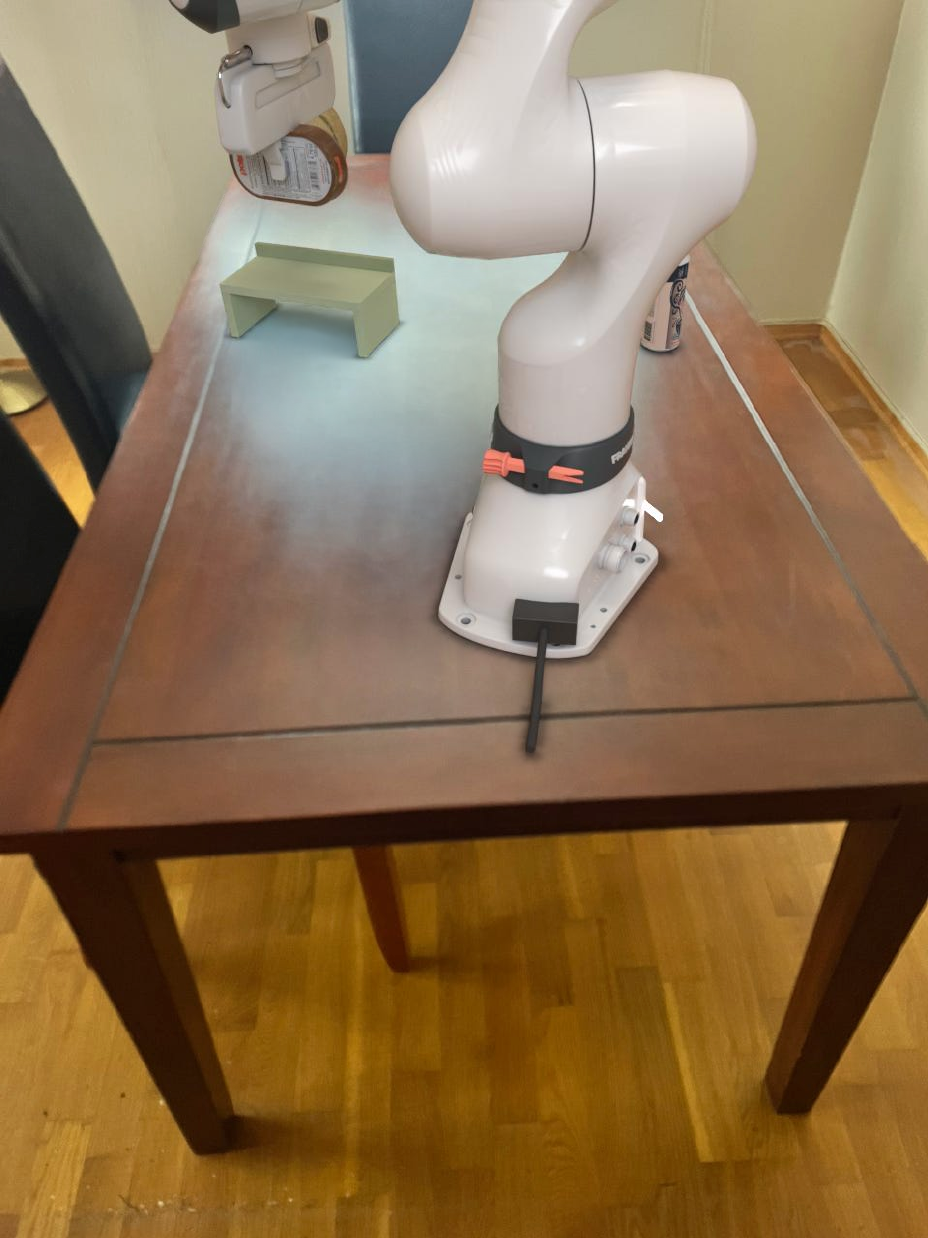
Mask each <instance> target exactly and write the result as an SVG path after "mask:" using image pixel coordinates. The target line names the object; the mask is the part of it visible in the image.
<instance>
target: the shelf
mask: <svg viewBox="0 0 928 1238" xmlns="http://www.w3.org/2000/svg"><path fill="white" fill-rule="evenodd" d="M254 249H255V253H256V256H254V257H253V258H252V259H251V260H249V261H248V262H247V263H245V264H244V265H243V266H241V267H240V268H239V269H237V270H235V272H233V273H232V274H231V275H229V276H227V278H225V279H224V280H222V281H220V282H219V288H220V292H221V297H222V302H223V307H224V311H225V315H226V320H227V324H228V327H229V328H228V329H229V333H230V337H232V338H237V339H238V338H241V337H242V336H243V335H245V333H246V332H248V331H249V330H250V329H251V328H252V327H254V326H255V325H256V324H257V323H258V322H260V321H261V320H263V318H265V317H266V316H267V315H269V313H271V312H272V311H274V309H276V308H277V307H278V306H277V305H278V304H277V301H280V302H285V303H293V304H299V305H306V306H312V307H313V306H314V307H321V308H328V309H335V310H342V311H350V312H352V317H353V325H354V331H355V340H356V349H357V355H358V357H360V358H364V359H365V358H366V359H367V358H368V357H369V356H370V355H371V354H372V353H373V352H374V351H375V350H377V348H378V347H379V346H380V345H381V344H382V342H383V341H385V339H387V338H388V336H389V335H391V333H393V331H394V330H395V329H396V328H397V327H398V326H399V325H400V315H399V303H398V302H399V301H398V294H397V283H396V271H395V258H394V257H387V256H379V255H370V254H362V253H354V252H346V251H339V250H331V249H330V250H329V249H321V248H315V247H314V248H312V247H305V246H296V245H287V244H280V243H271V242H263V241H256V242H255V243H254Z"/></svg>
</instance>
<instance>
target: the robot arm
mask: <svg viewBox="0 0 928 1238" xmlns="http://www.w3.org/2000/svg"><path fill="white" fill-rule="evenodd" d="M340 1H341V0H168V2H169V3H170V5H171V6H172V7H173V8H174V9H175V10H176V12H178V13H179V14H180V15H181V16H182V17H183V18H185V19H186V20H187V21H188V22H191V24H193V25H194V26H196V27H197V28H199V29H201V30H202V31H204V32H205V33H208V34H209V35H214V34H216V33H221V32H223V31H224V34H225V38H226V44H227V51H228V53H227V54H225V55H223V56H222V57H221V59H220V64H219V67H218V70H217V71H216V74H215V75H216V77H215V82H214V103H215V105H214V106H215V114H216V121H217V128H218V134H219V135H218V136H219V142H220V144H221V147H222V148H223V149H224V150H225V152H226V153H227V154H228V155H229V154H233V155H243V156H252V155H254V154H256V153H258V152H259V151H261V153H262V154H263V156H264V158H265V159H266V161H267V162H268V164H269V167H270V173H271V177H272V179H274V180H279V181H283V180H285V179H286V178H288V177H289V176H290V174H291V173H290V170H289V161H284V159H283V157H282V154H281V152H280V150H279V149H281V148H282V144H281V138H283V137H284V136H286V135H288V134H289V132H290V131H291V130H293V129H295V128H296V127H298V126H299V124H306V125H307V123H308V122H309V121H311V120H313V119H314V118H316V117H318V116H319V115H321V114H323V113H324V112H326V111H328V110H329V109H331V108H332V107H333V108H334V104H335V99H336V78H335V69H334V60H333V54H332V50H331V46H330V44H329V42H328V41H329V40H331V37H332V27H331V21H330V19H329V18H328V17H326V16H323V15H320V14H317V13H313V12H311V11H316V10H320V9H325V8H328V7H330V6H332V5H334V4H338V3H339V2H340ZM620 1H621V0H473V1H472V5H471V9H470V12H469V16H468V18H467V21H466V24H465V27H464V31H463V32H462V34H461V38H460V39H459V41H458V43H457V46H456V48H455V50H454V52H453V54H452V55H451V57H450V59H449V61H448V63H447V65H446V66H445V67H444V69H443V71H442V72H441V73H440V75H439V76H438V77H437V79H436V80H435V82H434V83H433V84H432V85H431V86H430V88H429V89H428V90H427V91H426V92H425V93H424V95H423V96H421V98H420V99H419V100H418V101H416V102H415V104H414V105H413V106H411V108H410V109H409V111H408V112H407V113H406V114H405V117H404V118H403V120H402V121H401V123H400V125H399V127H398V129H397V131H396V134H395V137H394V140H393V142H392V147H391V150H390V153H389V162H388V184H389V185H388V186H389V191H390V196H391V200H392V204H393V207H394V210H395V212H396V214H397V217H398V219H399V221H400V223H401V225H402V227H403V228H404V230H405V231H406V233H407V234H408V236H410V238H411V239H412V240H413V241H414V242H415V243H416V244H417V245H418V246H419V247H420V248H421V249H422V250H423V251H424V252H426V253H427V254H429V255H436V256H444V257H451V258H460V259H469V260H480V261H481V260H482V261H496V260H503V259H505V260H507V259H513V258H514V259H515V258H524V257H533V256H542V255H550V254H551V255H552V254H560V253H567V254H566V256H565V257H564V259H563V261H562V262H561V263H560V264H559V266H558V267H557V268H556V270H554V272H553V273H551V275H550V276H548V277H547V278H546V279H545V280H543V281H542V282H541V283H539V284H537V285H536V286H534V287H533V288H531V289H530V290H528V291H527V292H525V293H524V294H523V295H521V296H520V297H519V298H518V299H517V300H516V301H515V302H514V303H513V304H512V306H511V307H510V308H509V310H508V311H507V313H506V315H505V316H504V318H503V320H502V322H501V325H500V327H499V331H498V333H497V340H496V341H497V343H496V344H497V383H498V384H497V389H498V390H497V394H498V395H497V397H498V402H497V404H496V405H495V409H494V413H493V420H492V424H491V427H490V428H491V429H490V448H488V449H487V450H486V451H485V453H484V455H483V460H482V471H483V475H482V477H481V482H480V485H479V490H478V494H477V498H476V501H475V503H474V505H473V506H472V509H471V511H470V512H468V513H467V514H466V516H465V519H464V521H463V526H462V529H461V532H460V536H459V539H458V542H457V545H456V548H455V552H454V556H453V559H452V561H451V566H450V569H449V571H448V575H447V578H446V582H445V585H444V589H443V591H442V594H441V595H442V596H441V599H440V601H439V606H438V615H437V618H438V619H439V621H440V622H441V623H442V624H443V625H444V626H445V627H447V628H448V629H449V630H450V631H452V632H454V633H455V634H457V635H459V636H461V637H463V638H465V639H467V640H470V641H472V642H474V643H477V644H480V645H483V646H486V647H489V648H492V649H493V648H494V649H496V650H499V651H503V652H507V653H512V654H516V655H522V656H527V657H533V658H534V657H535V658H536V659H535V666H534V676H533V687H532V689H533V690H532V703H531V710H530V716H529V717H530V718H529V725H528V730H527V737H526V743H525V751H526V752H527V753H534V752H535V751H536V747H537V739H538V733H539V724H540V719H541V712H542V711H541V710H542V700H543V689H544V675H545V666H546V665H545V664H546V659H570V658H577V657H583V656H587V655H589V654H591V652H592V651H594V649H595V648H596V647H597V645H598V644H599V643H600V641H601V640H602V639H603V637H604V636H605V635H606V633H607V632H608V631H609V629H610V628H611V626H612V625H613V624H614V623H615V622H616V620H617V618H618V617H619V616H620V615H621V613H622V612H623V610H624V609H625V608H626V607H627V605H628V604H629V603H630V602H631V600H632V599H633V598H634V596H635V594H636V593H637V592H638V590H639V589H640V588H641V587H642V586H643V584H644V583H645V581H646V580H647V579H648V577H649V576H650V575H651V573H653V570H654V569H655V568H656V566H657V565H658V564H659V550H658V549H657V548H656V546H655V545H654V544H653V543H651V542H650V541H649V540H647V539H646V538H645V537H644V527H645V526H644V525H645V524H644V523H645V511H646V512H647V513H648V514H649V515H651V516H652V517H654V518H655V519H656V521H658V522H662V521H663V516H664V515H663V513H661V512H660V511H659V510H658V509H656V508H655V507H654V506H652V505H651V504H650V503H648V501H647V500H646V489H647V481H646V478H644V476H643V474H642V473H641V472H640V470H638V468H637V467H636V464H635V463H634V461H633V459H632V457H631V456H632V452H633V447H634V441H635V435H636V423H635V410H634V407H633V406H632V396H633V388H634V381H635V373H636V367H637V362H638V355H639V349H640V344H641V338H642V331H643V328H644V325H645V322H646V320H647V317H648V315H649V312H650V310H651V308H652V306H653V304H654V302H655V300H656V298H657V296H658V295H659V293H660V291H661V290H662V288H663V286H664V285H665V283H666V282H667V280H668V279H669V277H670V276H671V274H672V273H673V272H674V270H675V269H676V268H677V266H678V265H679V264H680V263H681V261H682V260H683V259H684V258H685V257H686V256H687V255H688V254H689V255H690V253H691V252H692V251H693V249H694V248H696V246H698V245H699V244H700V243H701V242H702V241H703V240H704V239H705V238H706V237H708V236H709V235H710V234H712V233H713V232H714V231H715V230H717V228H719V227H720V226H722V225H723V224H724V223H726V222H727V221H728V220H729V219H730V218H731V217H732V216H733V215H734V213H736V211H737V209H738V208H739V206H740V205H741V203H742V201H743V200H744V198H745V196H746V194H747V192H748V190H749V188H750V187H751V183H752V181H753V176H754V174H755V170H756V164H757V160H758V159H757V158H758V134H757V128H756V123H755V119H754V116H753V113H752V109H751V108H750V106H749V103H748V101H747V99H746V98H745V97H744V94H743V93H742V92H741V90H740V89H739V88H738V87H737V85H736V84H735V83H734V82H732V80H730V79H728V78H725V77H720V76H714V75H708V74H702V73H696V72H691V71H690V72H689V71H681V70H673V69H656V70H644V71H634V72H633V71H631V72H621V73H609V74H599V75H598V74H597V75H588V76H587V75H586V76H577V77H575V76H573V75H569V70H570V69H569V68H570V62H571V57H572V52H573V49H574V47H575V44H576V42H577V39H578V37H579V36H580V34H581V32H582V31H583V29H584V27H585V26H586V25H587V24H588V23H589V22H590V21H592V20H593V19H595V18H596V17H597V16H599V15H601V14H602V13H604V12H605V11H606V10H608V9H610V8H611V7H613V6H614V5H615V4H617V3H618V2H620Z"/></svg>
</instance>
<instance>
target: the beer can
mask: <svg viewBox="0 0 928 1238" xmlns="http://www.w3.org/2000/svg"><path fill="white" fill-rule="evenodd" d="M690 262H691V255H690V253H689V254H688V255H687V256H686V257H685V258H684V259H683V260H682V261H681V263H680V264H679V265H678V266H677V268H676V269H675V270H674V272H673V273H672V274H671V276H670V277H669V279H668V280H667V282H666V283H665V285H664V286H663V288H662V290H661V291H660V293H659V295H658V296H657V298H656V300H655V302H654V304H653V306H652V308H651V310H650V312H649V315H648V317H647V320H646V322H645V325H644V328H643V331H642V335H641V339H640V344H641V345H642V346H643V347H644V348H646V349H648V351H652V352H655V353H656V352H657V353H666V352H670V351H672V350H674V349H675V348H677V347H678V346H679V345H680V337H681V328H682V323H683V321H682V320H683V314H684V304H685V298H686V290H687V289H686V288H687V283H688V281H687V280H688V274H689V266H690Z"/></svg>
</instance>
